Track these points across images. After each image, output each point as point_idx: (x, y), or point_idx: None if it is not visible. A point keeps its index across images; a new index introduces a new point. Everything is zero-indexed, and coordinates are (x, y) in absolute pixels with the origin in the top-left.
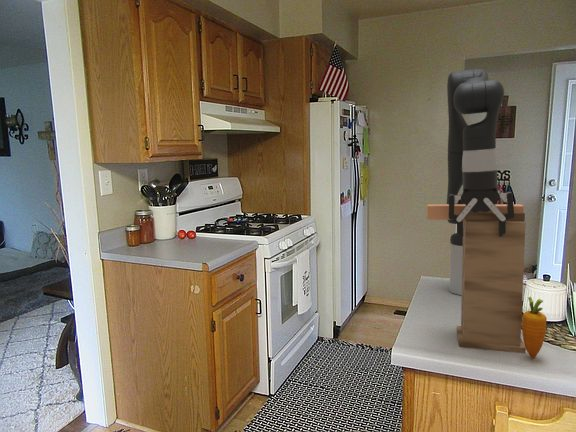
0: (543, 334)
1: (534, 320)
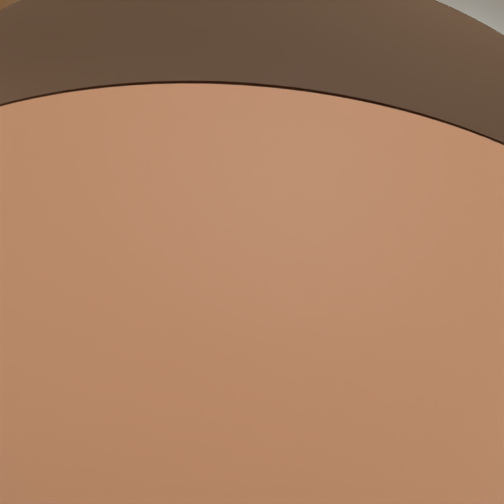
0: None
1: None
